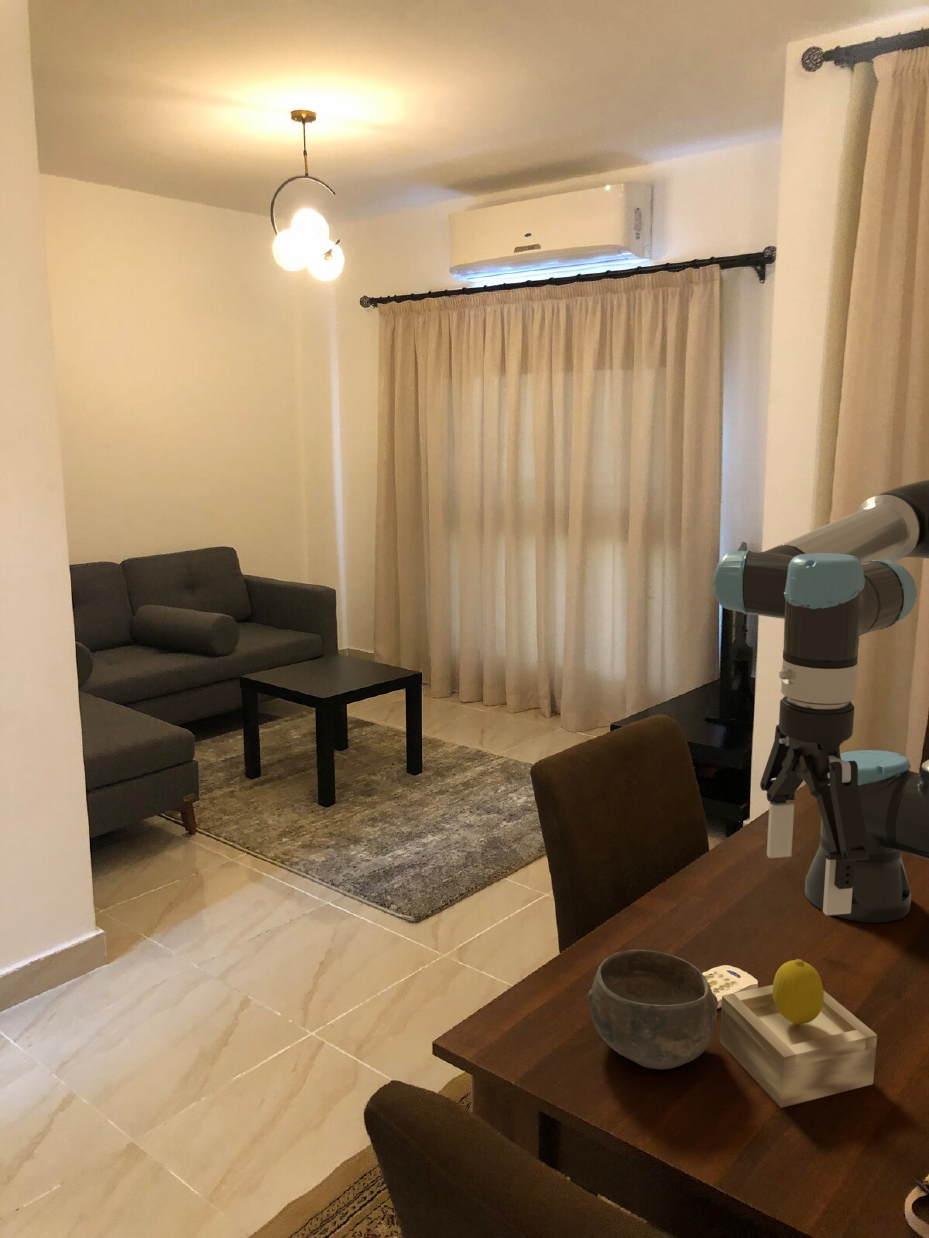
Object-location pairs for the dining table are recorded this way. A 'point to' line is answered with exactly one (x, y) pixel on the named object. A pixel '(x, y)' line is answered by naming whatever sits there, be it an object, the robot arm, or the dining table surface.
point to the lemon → (798, 992)
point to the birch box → (797, 1047)
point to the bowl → (653, 1008)
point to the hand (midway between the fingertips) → (806, 882)
